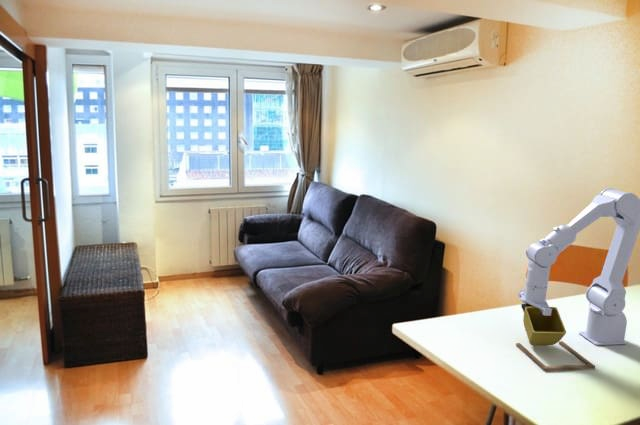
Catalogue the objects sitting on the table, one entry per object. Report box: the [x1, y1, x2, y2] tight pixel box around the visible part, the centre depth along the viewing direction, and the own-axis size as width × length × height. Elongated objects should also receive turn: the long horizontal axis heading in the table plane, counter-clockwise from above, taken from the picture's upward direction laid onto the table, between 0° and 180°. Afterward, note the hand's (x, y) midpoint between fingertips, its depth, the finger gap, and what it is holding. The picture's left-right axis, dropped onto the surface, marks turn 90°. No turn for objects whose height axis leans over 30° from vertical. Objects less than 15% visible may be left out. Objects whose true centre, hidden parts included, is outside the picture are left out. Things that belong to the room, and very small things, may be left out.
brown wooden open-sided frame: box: [515, 340, 596, 372], centre depth 130 cm, size 14×14×1 cm
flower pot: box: [522, 306, 567, 347], centre depth 135 cm, size 9×9×9 cm
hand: (530, 328), depth 141 cm, fingers closed, pressing on flower pot
